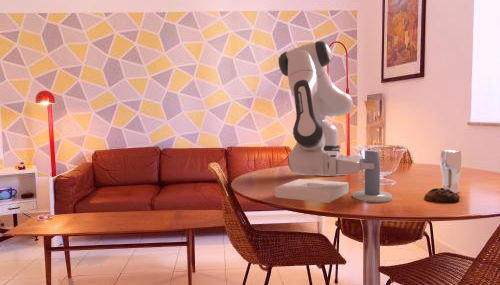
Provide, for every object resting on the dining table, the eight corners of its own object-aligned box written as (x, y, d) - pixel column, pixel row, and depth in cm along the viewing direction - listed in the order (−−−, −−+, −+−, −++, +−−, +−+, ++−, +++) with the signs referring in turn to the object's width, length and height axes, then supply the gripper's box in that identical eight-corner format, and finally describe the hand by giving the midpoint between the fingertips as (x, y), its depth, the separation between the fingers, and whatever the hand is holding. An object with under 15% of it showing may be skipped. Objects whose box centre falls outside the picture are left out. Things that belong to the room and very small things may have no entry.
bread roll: (443, 204, 129) (442, 188, 129) (417, 202, 139) (416, 188, 139) (468, 202, 133) (467, 187, 133) (440, 200, 143) (439, 186, 144)
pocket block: (299, 188, 160) (299, 178, 160) (348, 193, 150) (348, 182, 150) (275, 198, 144) (275, 187, 143) (328, 204, 133) (328, 192, 133)
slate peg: (366, 192, 144) (367, 150, 143) (381, 193, 141) (381, 150, 140) (362, 194, 139) (362, 151, 138) (377, 196, 137) (377, 151, 136)
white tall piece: (444, 189, 154) (444, 149, 153) (463, 191, 149) (464, 150, 148) (436, 191, 149) (437, 151, 148) (457, 194, 144) (457, 152, 143)
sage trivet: (359, 193, 149) (359, 189, 149) (395, 196, 142) (395, 192, 142) (347, 200, 138) (347, 195, 138) (386, 204, 131) (386, 199, 131)
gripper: (336, 168, 153) (374, 168, 149) (330, 176, 134) (374, 177, 130) (336, 151, 153) (374, 151, 149) (330, 157, 133) (374, 158, 129)
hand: (374, 164), depth 139 cm, fingers open, 8 cm apart
